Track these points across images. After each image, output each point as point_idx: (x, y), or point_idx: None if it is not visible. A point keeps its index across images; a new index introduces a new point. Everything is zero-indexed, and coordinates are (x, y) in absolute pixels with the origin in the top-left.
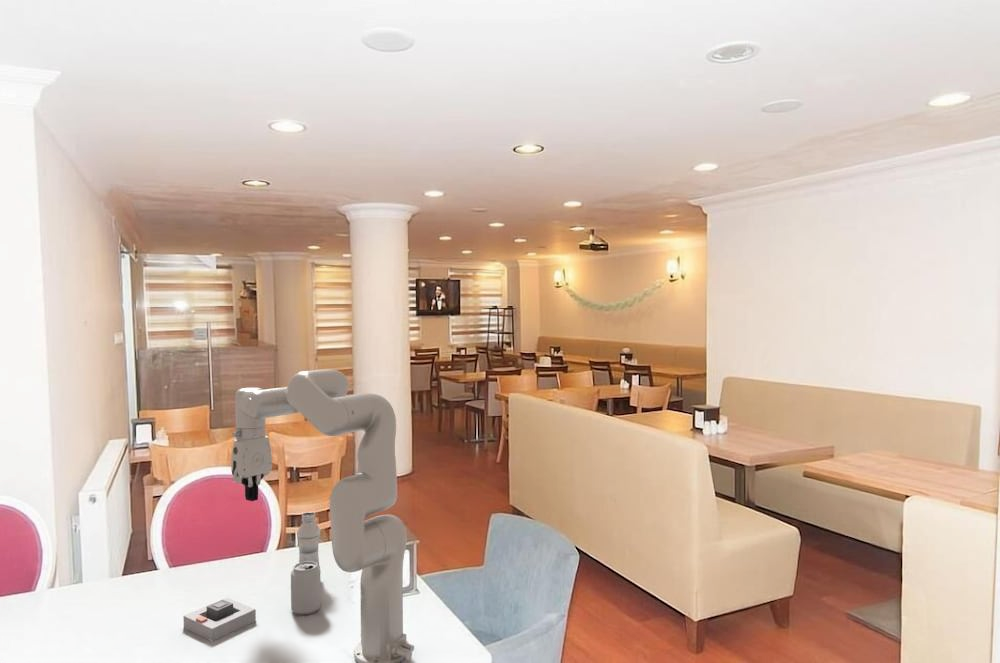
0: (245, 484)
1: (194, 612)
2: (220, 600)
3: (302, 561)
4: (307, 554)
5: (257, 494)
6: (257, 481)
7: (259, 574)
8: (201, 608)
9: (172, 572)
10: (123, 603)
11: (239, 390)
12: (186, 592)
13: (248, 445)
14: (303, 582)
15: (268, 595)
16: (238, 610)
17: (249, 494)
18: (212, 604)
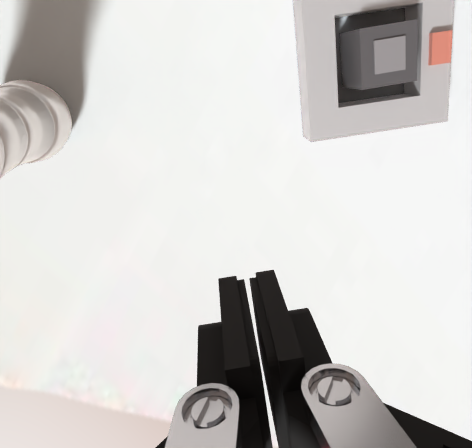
0: (400, 419)
1: (419, 118)
2: (369, 88)
3: (36, 118)
4: (6, 103)
5: (225, 301)
6: (222, 427)
7: (132, 280)
8: (393, 128)
9: None
10: (431, 345)
11: None
12: (317, 306)
13: None
14: None
15: (179, 129)
16: (334, 28)
17: (307, 323)
18: (399, 79)
